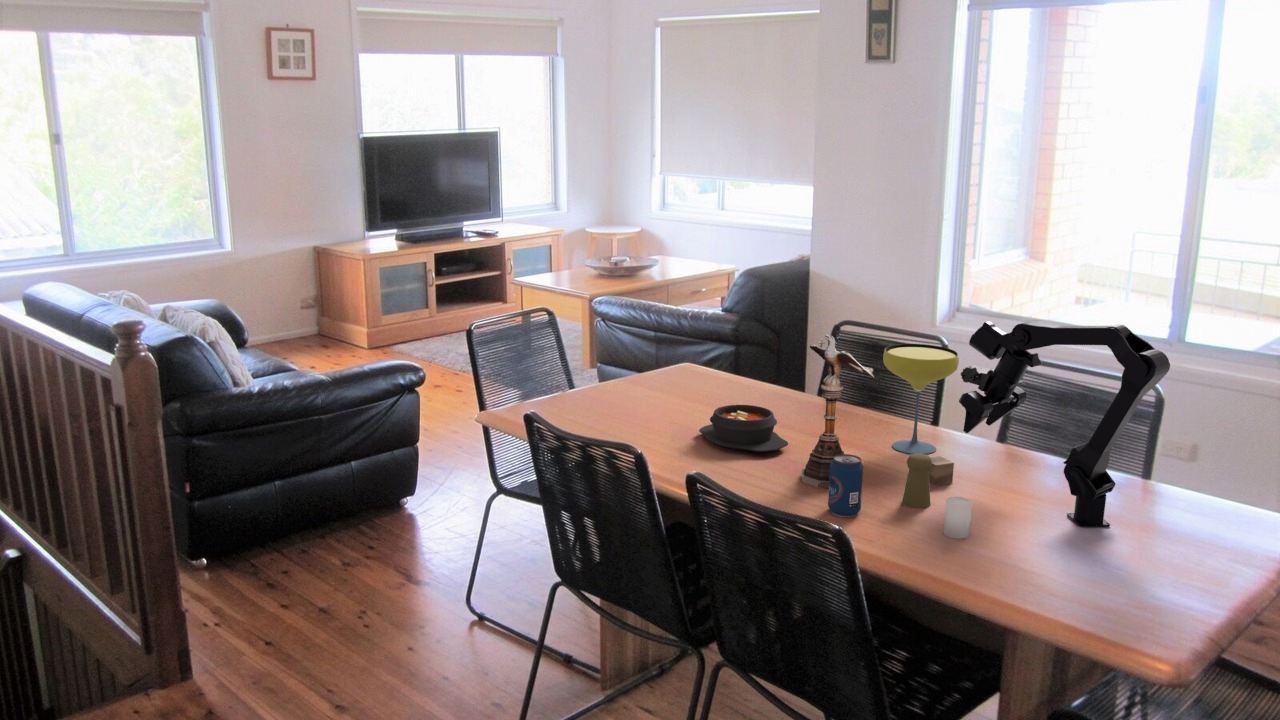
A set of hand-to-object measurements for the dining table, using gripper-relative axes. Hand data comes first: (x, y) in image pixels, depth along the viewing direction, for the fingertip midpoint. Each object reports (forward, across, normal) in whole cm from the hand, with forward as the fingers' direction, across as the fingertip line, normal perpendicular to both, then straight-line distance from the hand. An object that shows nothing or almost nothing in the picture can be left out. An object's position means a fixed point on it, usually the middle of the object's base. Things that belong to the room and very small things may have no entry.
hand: (976, 428), depth 237 cm
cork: (+14, +19, +4) cm, 24 cm away
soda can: (+16, +35, -2) cm, 39 cm away
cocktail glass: (+23, -14, -17) cm, 31 cm away
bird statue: (+23, +20, -17) cm, 35 cm away
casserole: (+35, +17, -44) cm, 59 cm away
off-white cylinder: (+7, +27, +18) cm, 33 cm away
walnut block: (+16, +3, -1) cm, 16 cm away
